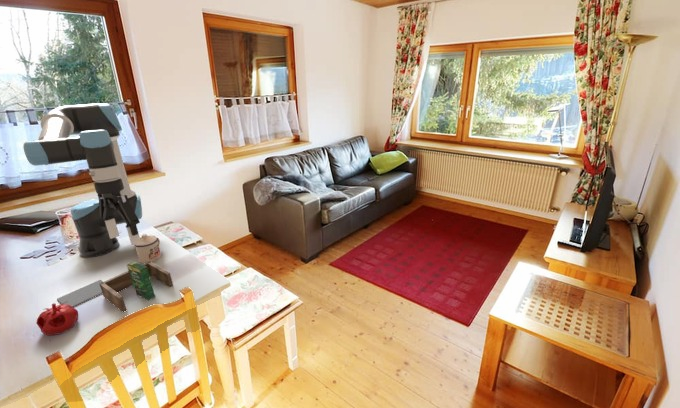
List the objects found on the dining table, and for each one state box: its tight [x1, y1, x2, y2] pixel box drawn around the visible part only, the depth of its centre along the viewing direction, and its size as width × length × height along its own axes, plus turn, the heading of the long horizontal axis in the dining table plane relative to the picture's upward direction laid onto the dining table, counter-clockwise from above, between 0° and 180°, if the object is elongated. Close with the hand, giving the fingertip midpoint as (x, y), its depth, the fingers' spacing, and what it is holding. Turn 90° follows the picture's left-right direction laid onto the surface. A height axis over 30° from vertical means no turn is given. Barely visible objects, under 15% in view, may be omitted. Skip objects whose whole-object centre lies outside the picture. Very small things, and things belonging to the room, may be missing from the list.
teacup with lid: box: [133, 233, 162, 264], centre depth 142 cm, size 12×9×12 cm
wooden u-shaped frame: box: [100, 261, 174, 313], centre depth 119 cm, size 15×18×6 cm
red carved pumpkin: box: [36, 301, 79, 336], centre depth 102 cm, size 10×10×9 cm
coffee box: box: [126, 261, 156, 301], centre depth 116 cm, size 8×3×13 cm, turn 61°
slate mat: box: [56, 279, 104, 308], centre depth 120 cm, size 10×14×1 cm
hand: (125, 240), depth 109 cm, fingers open, 13 cm apart
